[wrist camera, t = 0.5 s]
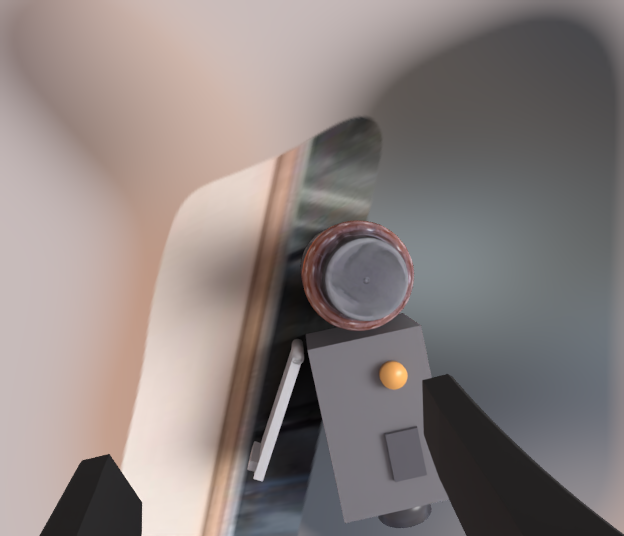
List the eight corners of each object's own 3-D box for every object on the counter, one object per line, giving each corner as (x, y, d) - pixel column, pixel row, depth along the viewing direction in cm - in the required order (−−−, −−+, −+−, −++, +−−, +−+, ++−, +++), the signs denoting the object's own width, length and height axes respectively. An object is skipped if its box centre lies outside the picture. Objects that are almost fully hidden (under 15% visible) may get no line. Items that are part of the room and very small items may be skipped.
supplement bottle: (368, 321, 34) (405, 361, 23) (288, 295, 34) (285, 322, 23) (396, 241, 34) (446, 241, 23) (316, 213, 34) (326, 200, 23)
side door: (267, 453, 34) (264, 481, 30) (251, 448, 34) (245, 476, 30) (304, 340, 34) (305, 354, 30) (288, 335, 34) (287, 348, 30)
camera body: (437, 483, 35) (464, 530, 30) (342, 505, 35) (351, 555, 29) (402, 313, 34) (423, 327, 29) (305, 334, 34) (307, 352, 29)
